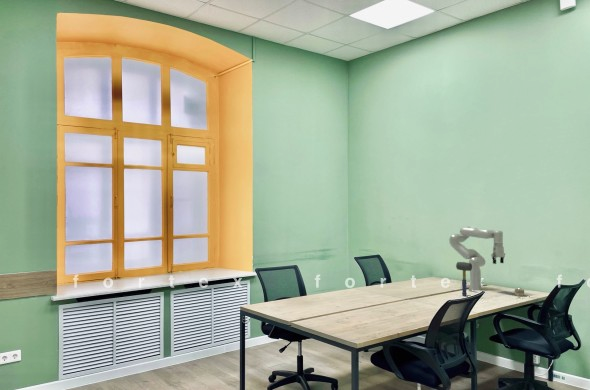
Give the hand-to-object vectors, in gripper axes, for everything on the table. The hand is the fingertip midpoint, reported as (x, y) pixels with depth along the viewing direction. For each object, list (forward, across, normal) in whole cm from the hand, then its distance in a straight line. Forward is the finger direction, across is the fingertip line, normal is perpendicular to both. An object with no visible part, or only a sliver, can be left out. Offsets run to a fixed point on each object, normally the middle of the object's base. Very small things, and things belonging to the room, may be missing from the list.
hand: (498, 263), depth 404 cm
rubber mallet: (+28, -32, +10) cm, 44 cm away
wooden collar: (+26, +7, -16) cm, 32 cm away
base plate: (+28, +7, -9) cm, 30 cm away
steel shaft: (+26, +7, -16) cm, 32 cm away
